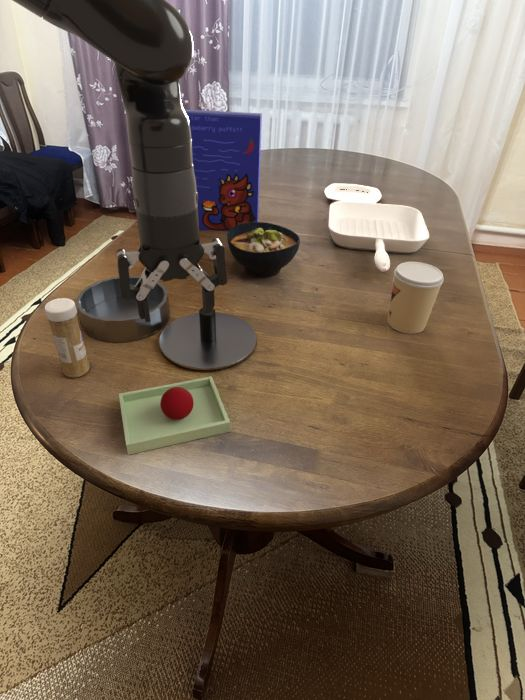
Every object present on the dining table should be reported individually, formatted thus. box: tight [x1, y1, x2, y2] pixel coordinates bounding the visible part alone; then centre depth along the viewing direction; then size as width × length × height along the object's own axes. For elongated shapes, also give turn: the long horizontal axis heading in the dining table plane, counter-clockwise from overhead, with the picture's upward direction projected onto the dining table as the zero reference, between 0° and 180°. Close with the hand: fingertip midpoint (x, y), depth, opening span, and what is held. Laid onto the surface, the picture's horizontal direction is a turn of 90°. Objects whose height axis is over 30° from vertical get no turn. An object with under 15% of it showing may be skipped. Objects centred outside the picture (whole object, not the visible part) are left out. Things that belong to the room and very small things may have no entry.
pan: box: [327, 201, 430, 272], centre depth 126 cm, size 27×44×5 cm, turn 172°
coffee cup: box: [387, 261, 445, 335], centre depth 94 cm, size 9×9×12 cm
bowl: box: [226, 221, 301, 278], centre depth 111 cm, size 17×17×10 cm
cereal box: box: [184, 109, 263, 232], centre depth 126 cm, size 22×6×30 cm, turn 87°
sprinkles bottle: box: [44, 297, 91, 378], centre depth 77 cm, size 5×5×13 cm
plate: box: [324, 182, 383, 203], centre depth 159 cm, size 19×19×2 cm
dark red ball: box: [160, 387, 194, 420], centre depth 71 cm, size 5×5×5 cm
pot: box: [75, 275, 171, 344], centre depth 94 cm, size 17×17×5 cm
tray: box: [118, 375, 231, 456], centre depth 72 cm, size 15×11×2 cm
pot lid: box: [158, 307, 257, 371], centre depth 87 cm, size 18×18×7 cm
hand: (177, 314), depth 67 cm, fingers open, 8 cm apart
